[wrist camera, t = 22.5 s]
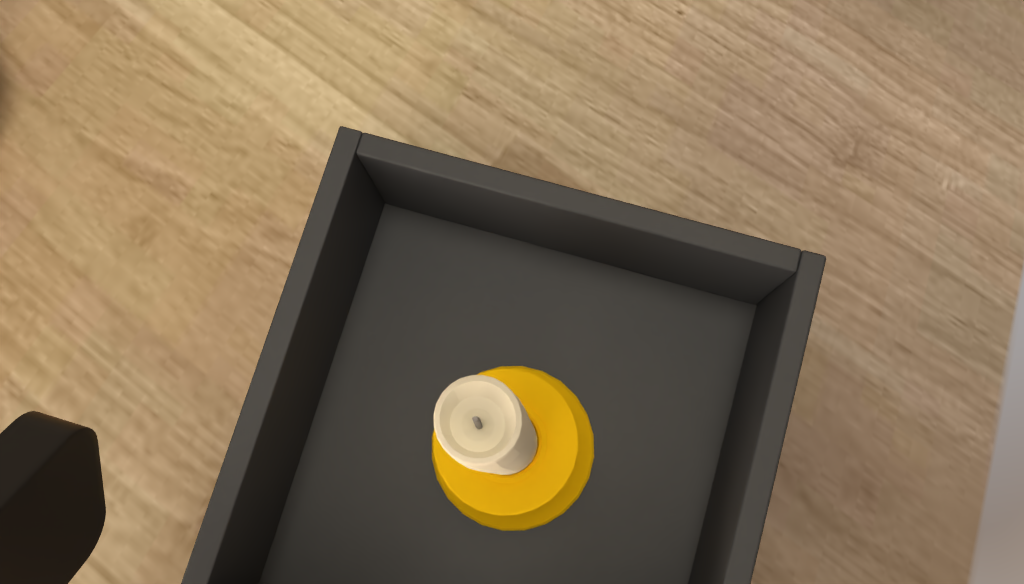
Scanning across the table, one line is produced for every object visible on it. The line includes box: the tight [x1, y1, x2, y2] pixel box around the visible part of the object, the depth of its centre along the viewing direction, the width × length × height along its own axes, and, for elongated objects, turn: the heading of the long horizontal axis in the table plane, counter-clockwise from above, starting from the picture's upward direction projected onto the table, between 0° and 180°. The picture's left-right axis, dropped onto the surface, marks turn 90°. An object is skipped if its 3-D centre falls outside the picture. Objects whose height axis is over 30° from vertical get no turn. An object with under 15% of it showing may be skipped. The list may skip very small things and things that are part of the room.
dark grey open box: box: [181, 126, 826, 584], centre depth 27 cm, size 14×14×6 cm
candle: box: [432, 366, 594, 531], centre depth 22 cm, size 5×5×16 cm
